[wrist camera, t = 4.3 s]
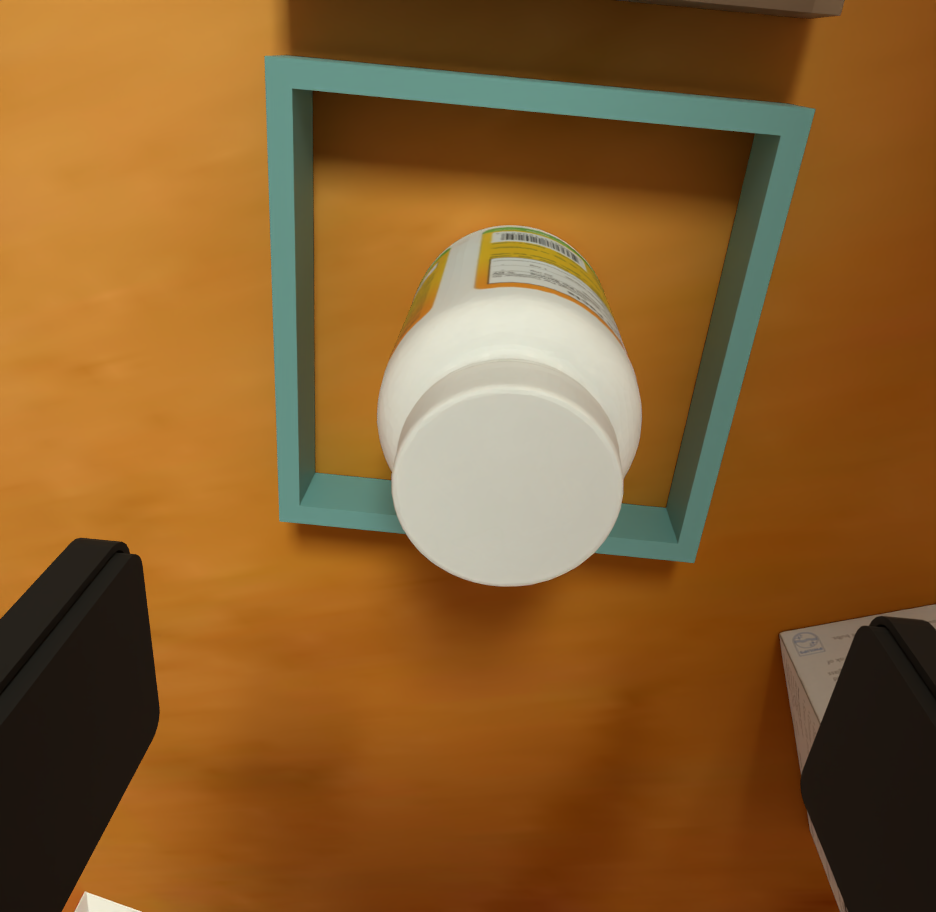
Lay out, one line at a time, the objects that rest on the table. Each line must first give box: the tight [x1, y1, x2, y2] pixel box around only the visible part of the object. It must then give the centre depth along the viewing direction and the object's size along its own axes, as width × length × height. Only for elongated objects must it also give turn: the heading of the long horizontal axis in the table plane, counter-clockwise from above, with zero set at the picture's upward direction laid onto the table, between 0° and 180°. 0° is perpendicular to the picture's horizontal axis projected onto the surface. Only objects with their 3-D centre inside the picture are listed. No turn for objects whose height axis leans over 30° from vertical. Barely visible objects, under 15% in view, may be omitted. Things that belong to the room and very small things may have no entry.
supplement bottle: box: [377, 225, 642, 587], centre depth 18 cm, size 5×5×10 cm
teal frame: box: [265, 55, 815, 563], centre depth 21 cm, size 12×12×2 cm
